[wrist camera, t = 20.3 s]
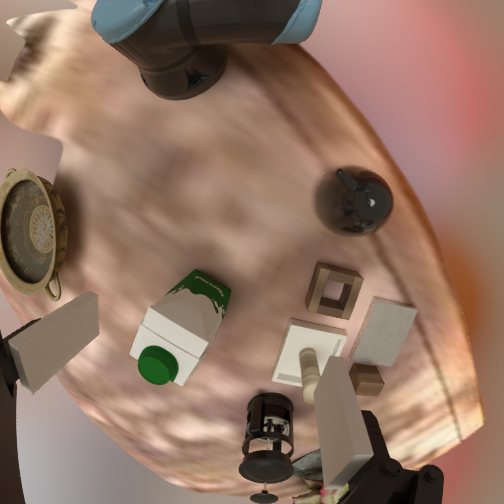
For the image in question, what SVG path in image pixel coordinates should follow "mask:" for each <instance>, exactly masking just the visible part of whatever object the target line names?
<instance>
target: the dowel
mask: <svg viewBox="0 0 504 504" xmlns="http://www.w3.org/2000/svg"><path fill="white" fill-rule="evenodd" d="M299 360H300V369H301V378H302V388H303V398H304V401H305V403H307V404H310V405H315V403H314V396H313V392H314V390H315V388H316V386H317V384H318V382H319V379H320V377H321V376H320V371H319V366H318V361H317V357H316V352H315V350H314V349H312V348H304V349H302V350H301V351H300V353H299Z"/></svg>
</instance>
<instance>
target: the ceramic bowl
mask: <svg viewBox="0 0 504 504" xmlns="http://www.w3.org/2000/svg"><path fill="white" fill-rule="evenodd" d="M11 173H12V174H11ZM10 174H11V175H10ZM67 245H68V224H67V217H66V213H65V209H64V206H63V203H62V200H61V198H60V196H59V194H58V192H57V191H56V189H55V188H54V187H53V185H52V184H51V183H50V182H49V181H47V180H46V179H44V178H42V177H39V176H36V175H35V174H34V173H33V172H31V171H29V170H18V171H16V170H15V169H13V168H12V169H9V170H8V172H7V173H6V176H5V181H4V182H3V184H2V186H1V188H0V268H1V270H2V272H3V274H4V276H5V277H6V279H7V280H8V282H9V283H10V284H11V285H12V286H13V287H14V288H15V289H16V290H17V291H19V292H21V293H23V294H25V295H35V294H38V293H39V292H40V291H42V290H43V289H44V288H45V290H46V292H47V294H48V296H49V297H50V299H51V300H53V301H58V300H59V299H60V297H61V287H60V282H59V278H58V273H59V271H60V269H61V267H62V265H63V263H64V260H65V256H66V252H67ZM53 279H54V280H55V283H56V287H57V295H56V296H54V295H53V294H52V292H51V290H50V288H49V282H50V281H51V280H53Z"/></svg>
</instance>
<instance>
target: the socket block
mask: <svg viewBox="0 0 504 504" xmlns="http://www.w3.org/2000/svg"><path fill="white" fill-rule="evenodd" d="M327 279H329V280H333V281H337V282H341V283H345V284H344V287H343V290H342V293H341V296H340V299H339V301H336V300H331V299H327V298H323V297H322V294H323V291H324V287H325V284H326V281H327ZM363 280H364V278H363V277H362V276H361V275H360V274H359V273H358V272H356V271H352V270H348V269H344V268H340V267H337V266H333V265H329V264H325V263H321V262H317V264H316V267H315V271H314V274H313V277H312V281H311V284H310V287H309V291H308V294H307V297H306V300H305V304H306V308H307V311H309V312H314V313H318V314H323V315H327V316H332V317H336V318H341V319H346V320H349V319H350V316H351V314H352V311H353V308H354V305H355V303H356V300H357V297H358V294H359V291H360V289H361V286H362V283H363Z"/></svg>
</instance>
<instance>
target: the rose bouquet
mask: <svg viewBox="0 0 504 504" xmlns="http://www.w3.org/2000/svg"><path fill="white" fill-rule="evenodd" d="M292 465H293V467H294V473H293V475H297V476H299V477H300V478H301V479H302V480H305V482H306V483H307V484H308V486H309V489H311V490H313V491H311V492H310V493H307V494H303V495H299V496H298V497H292V498H293V500H294V502H293V504H337V502H338V501H339V500H338V499H340V498H341V497H342V496H343V495H344V494H345V493H346V492H347V491H348V490H349V487H348V483H347V484H346V485H345V486H344V487H343V488H342V489H324V481H323V470H322V461H321V452H320V450H317V451H315V452H312V453H310V454H308V455H307V456H305V457H303V458H301V459H300V460H298V461H297V462H295V463H293V464H292Z"/></svg>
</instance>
